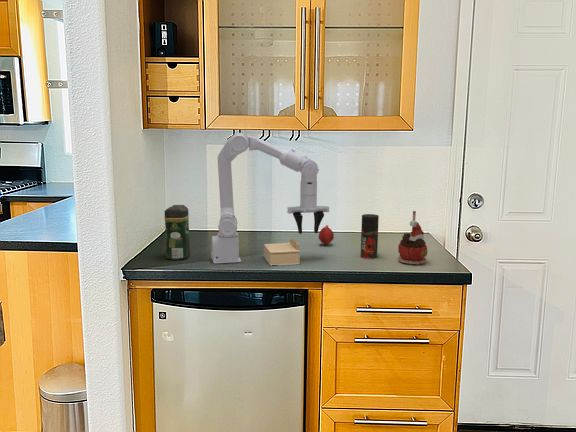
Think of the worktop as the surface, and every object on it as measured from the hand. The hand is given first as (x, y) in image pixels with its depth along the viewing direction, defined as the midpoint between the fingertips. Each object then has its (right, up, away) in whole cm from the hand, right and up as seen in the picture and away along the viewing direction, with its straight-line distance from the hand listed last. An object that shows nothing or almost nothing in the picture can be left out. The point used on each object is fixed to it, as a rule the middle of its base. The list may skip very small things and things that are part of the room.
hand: (308, 233), depth 193 cm
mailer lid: (-9, -5, -1) cm, 11 cm away
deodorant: (+22, -9, +6) cm, 24 cm away
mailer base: (-9, -10, 0) cm, 13 cm away
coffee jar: (-46, -9, +3) cm, 47 cm away
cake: (+36, -10, -1) cm, 37 cm away
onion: (+8, -6, +23) cm, 25 cm away
